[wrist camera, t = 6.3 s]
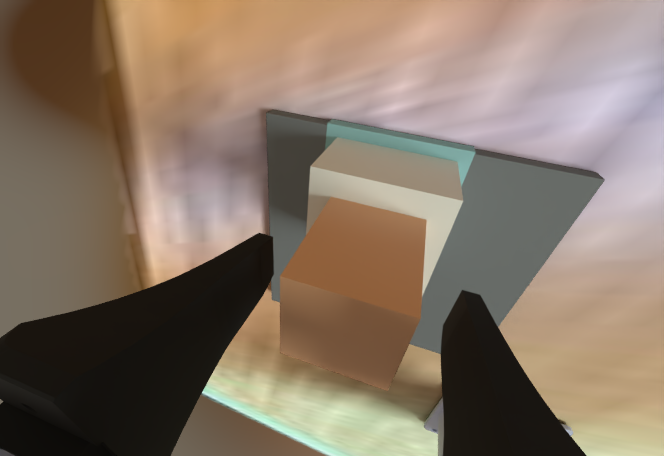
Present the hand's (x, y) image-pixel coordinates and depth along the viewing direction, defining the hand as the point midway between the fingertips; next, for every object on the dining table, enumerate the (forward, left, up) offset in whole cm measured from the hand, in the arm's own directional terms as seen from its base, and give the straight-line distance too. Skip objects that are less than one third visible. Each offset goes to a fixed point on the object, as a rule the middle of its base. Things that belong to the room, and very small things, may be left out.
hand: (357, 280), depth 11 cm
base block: (0, 0, -6) cm, 6 cm away
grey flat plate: (-1, +4, -7) cm, 8 cm away
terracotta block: (0, 0, -2) cm, 2 cm away
